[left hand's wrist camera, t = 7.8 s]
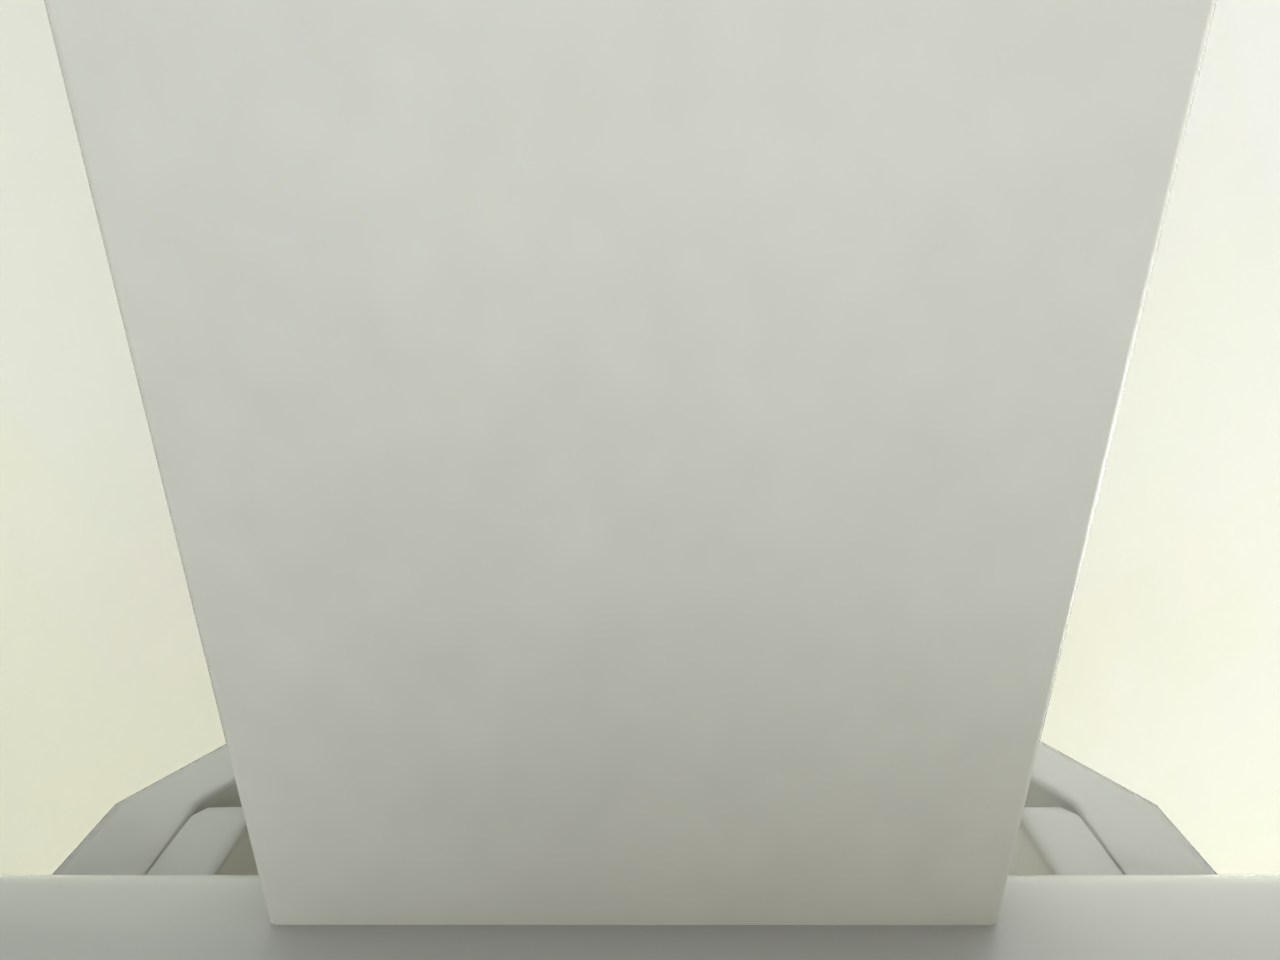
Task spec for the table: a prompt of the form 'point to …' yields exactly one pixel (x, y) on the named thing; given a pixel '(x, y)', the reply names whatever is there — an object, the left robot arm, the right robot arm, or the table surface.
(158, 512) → the table surface
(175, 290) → the bar
